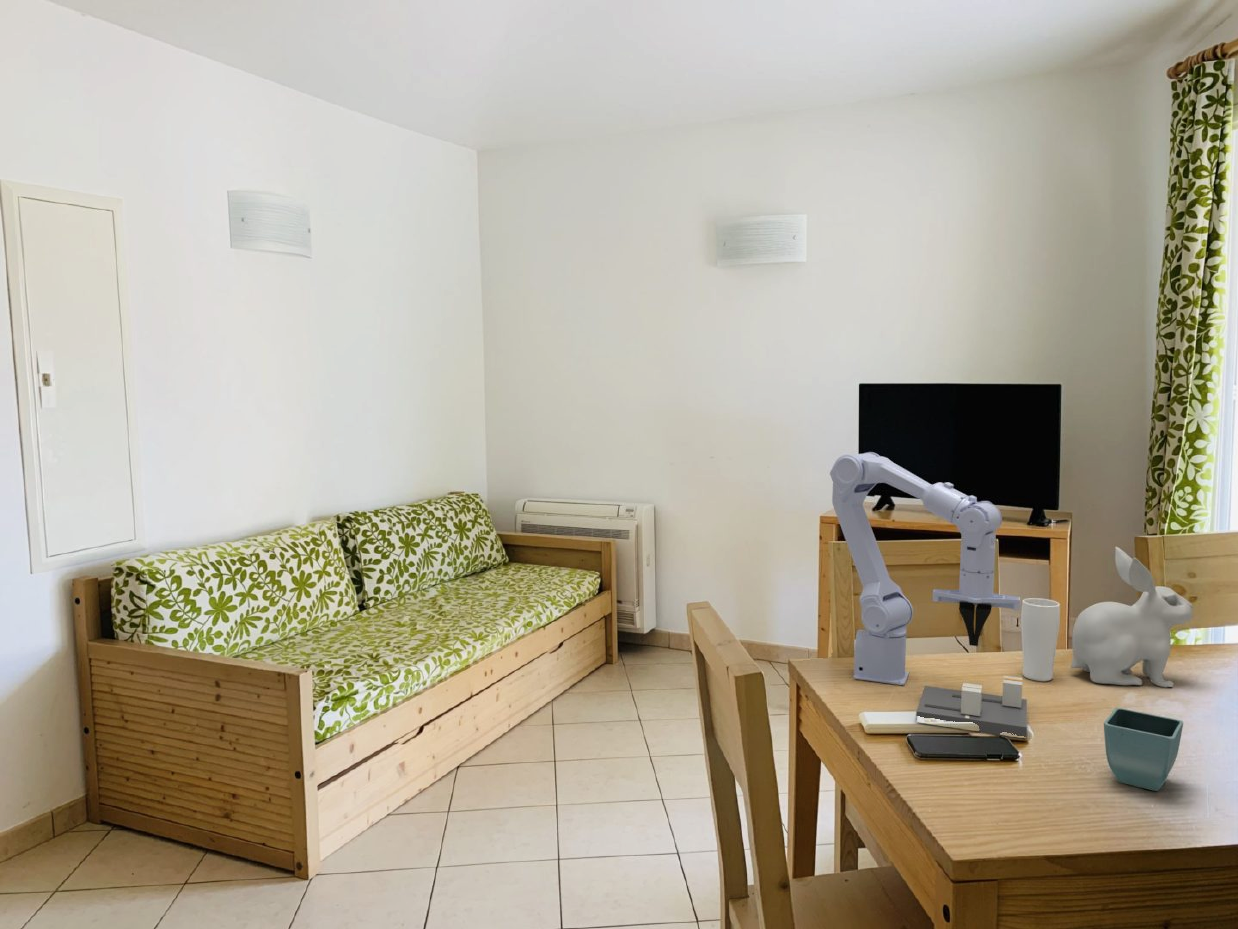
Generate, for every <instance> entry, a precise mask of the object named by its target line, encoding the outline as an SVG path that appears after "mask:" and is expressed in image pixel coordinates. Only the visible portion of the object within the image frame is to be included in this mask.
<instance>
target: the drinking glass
mask: <svg viewBox="0 0 1238 929" xmlns="http://www.w3.org/2000/svg"><path fill="white" fill-rule="evenodd" d="M1020 610H1021V613H1020V615H1021V616H1020V626H1021V631H1020V632H1021V646H1022V647H1021V648H1022V651H1021V652H1022V675H1023V676H1024V677H1025V678H1026V679H1028V680H1031V681H1035V682H1049V681H1051V680H1052V679H1053V677H1054V668H1055V667H1054V666H1055V660H1056V659H1055V658H1056V651H1057V646H1058V645H1057V644H1058V640H1059V639H1058V637H1059V631H1060V623H1061V622H1060V621H1061V603H1059V602H1058V601H1056V600H1053V599H1047V598H1039V597H1038V598H1037V597H1034V598H1033V597H1031V598H1024V599H1022V602H1021V609H1020Z"/></svg>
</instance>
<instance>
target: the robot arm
mask: <svg viewBox="0 0 1238 929" xmlns="http://www.w3.org/2000/svg"><path fill="white" fill-rule="evenodd" d="M829 476H830V477H831V480H832V496H831V497H832V499H831V501H832V505H833V510H834V511H835V514H836V517H837V521H838V522H839V525H840V527H841V531H842V534H843V537H844V540H845V542H846V545H847V548H848V550H849V554H850V555H851V558H852V561H853V565H854V566H855V569H856V572H857V574H858V578H859V580H860V584H861V586H862V591H861V593H860V596H859V598H858V599H859V600H858V602H859V604H860V608H861V613H860V614H861V616H860V618H861V619H860V620H861V623H862V625H863V626H864V628H865V629H858V630H857V632H856V635H855V642H854V663H853V664H854V668H853V672H854V675H853V679H855V680H861V681H868V682H869V681H870V682H876V683H884V684H889V685H890V684H891V685H896V686H897V685H898V686H905V685H906V682H907V680H908V677H909V675H910V671H909V670H906V650H907V628H908V627H907V625H909V624H910V623H911V622H912V620H913V618H914V608H913V604H912V603H911V602H910V600H909V599H908V598H907V597H906V596H905V595H904V593H903V591H902V588H901V586H899V585H898V584H897V583H895V582H894V581H893V579H892V578H890V574H889V572H888V568H887V566H886V563H885V561H884V558H883V556H882V552H881V551H880V548H879V545H878V542H877V539H876V537H875V534H874V532H873V529H872V526H871V524H870V521H869V518H868V516H867V512H866V510H865V508H864V507H865V506H864V505H863V504H864V502H865V500H866V498H867V497H868V494H869V493H870V491H871V490H872V489H873V488H875V486H876V485H877V484H882V483H883V484H887V485H889V486H891V487H893V488H894V489H895V488H896V489H898V490H900V491H902V492H904V493H907V494H909V495H910V496H913V497H914V498H917V499H919V500H921V501H922V504H923V507H924V509H925V510H926V511H928V512H930V513H932V514H933V515H935V516H937V517H938V518H941V519H943V520H945V521H947V522H948V523H951V524H953V525H955V526H956V528H957V530H958V531H959V533H960V534H961V535H960V536H961V537H960V538H961V540H960V541H961V542H960V560H959V563H960V566H959V582H958V583H959V585H958V589H940V588H939V589H937V588H934V589H933V591H932V602H936V603H939V602H943V603H953V604H959V605H958V610H959V613H960V615H961V618H962V619H963V620H962V621H964V625H965V628H966V631H967V636H968V643H969V644H968V645H969V646H971V647H973V646H974V647H978V645H979V640H980V635H981V633H982V631H983V629H984V628H983V627H984V626H985V624H986V621H987V620H988V618H989V616H990V614H991V612H992V607H993V608H1002V609H1011V610H1014V611H1020V610H1021V608H1020V607H1021V597H1020V596H1013V595H1007V594H1006V595H1005V594H999V593H994V586H995V584H994V583H995V566H996V565H995V564H996V563H995V562H996V561H995V560H996V536H997V535H996V534H997V532H996V531H998V529H999V528H1000V527H1001V526H1002V521H1003V517H1002V513H1001V511H1000V509H999V508H998V507H997V505H995V504H993V503H992V502H991V501H989V500H981V501H978V499H977V496H975V495H973V494H972V495H967V494H966V493H963V492H961V491H959V490H957V489H955V488H954V486H955V485H954V484H953V483H951V482H936V483H934V484H933V483H932V484H931V483H929V482H928V481H926V480H924V479H923V478H921V477H919V476H917V475H916V474H914V473H912V472H911V471H909V470H907V469H906V468H903V467H902V466H900V465H898V464H896V463H894V462H893V461H892V460H890V459H889V458H888V457H886V456H881V455H879V454H878V453H876V452H873V451H868V452H864V453H857V454H843V455H841V456H839V457H838V458H837V459H836V460H835V462H834V464H833V466H832V468H831V470H830V472H829Z"/></svg>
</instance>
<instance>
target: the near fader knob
mask: <svg viewBox="0 0 1238 929" xmlns="http://www.w3.org/2000/svg"><path fill="white" fill-rule="evenodd" d="M961 691H962V695H961V714H968V715H975V716H980V713H981V701H982V693H983V685H981V684H974V683H968V682H963V683H962V687H961Z"/></svg>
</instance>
